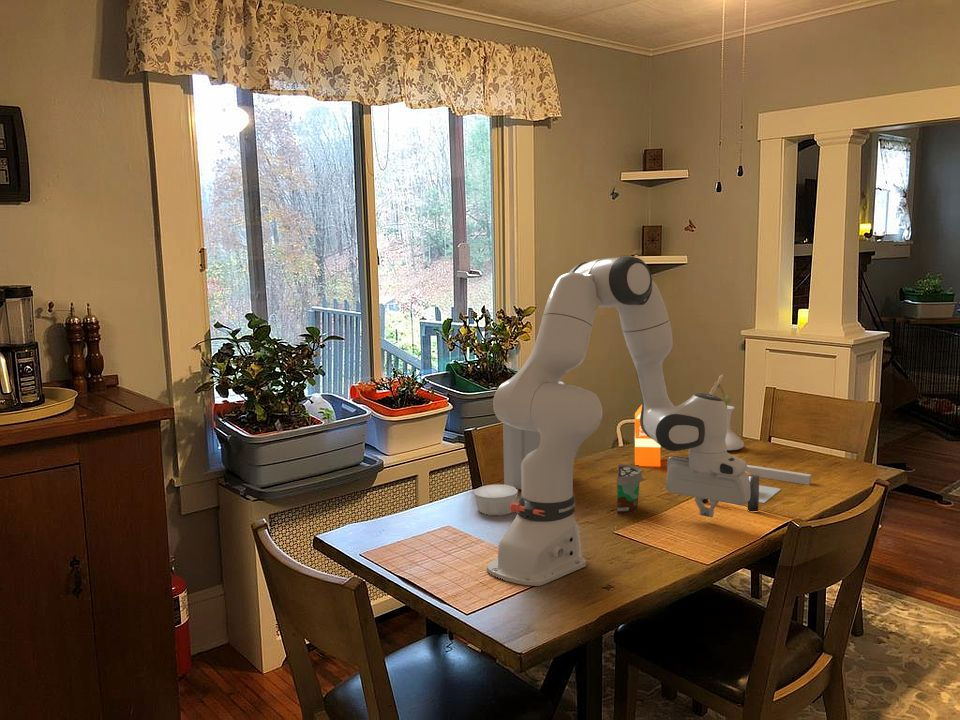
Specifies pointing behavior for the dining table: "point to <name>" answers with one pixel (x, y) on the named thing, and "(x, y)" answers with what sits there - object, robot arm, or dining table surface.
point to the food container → (628, 488)
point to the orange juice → (645, 446)
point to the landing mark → (766, 493)
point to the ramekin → (495, 499)
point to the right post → (754, 493)
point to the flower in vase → (728, 420)
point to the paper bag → (517, 451)
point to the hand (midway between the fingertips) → (706, 515)
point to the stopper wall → (780, 474)
